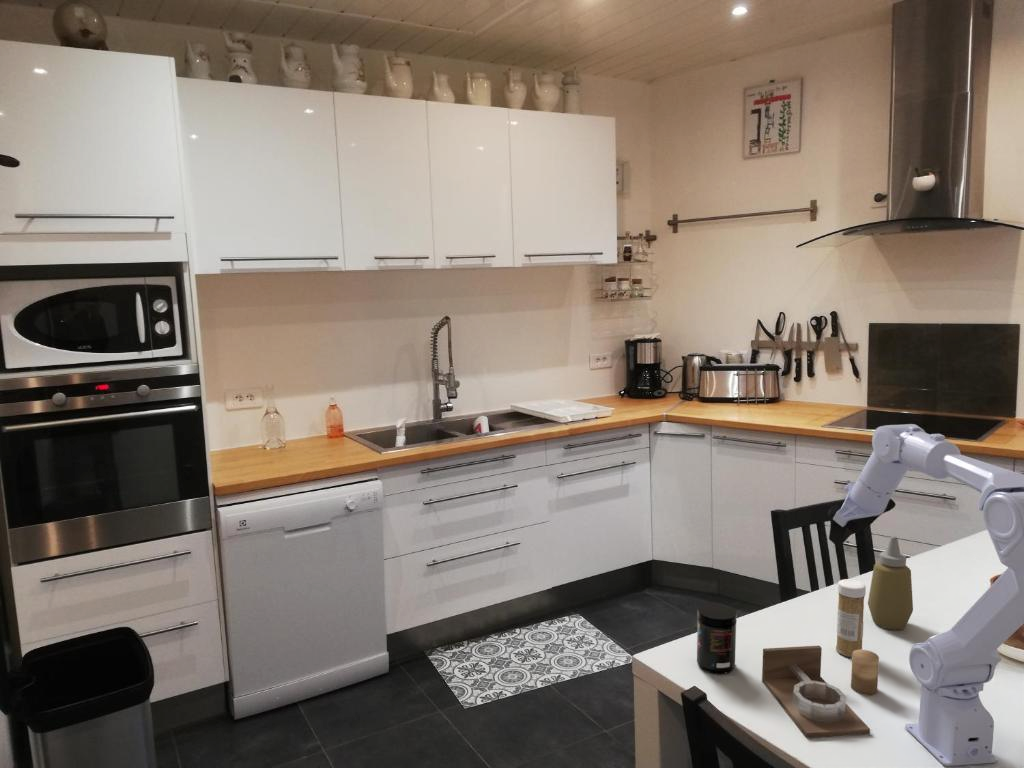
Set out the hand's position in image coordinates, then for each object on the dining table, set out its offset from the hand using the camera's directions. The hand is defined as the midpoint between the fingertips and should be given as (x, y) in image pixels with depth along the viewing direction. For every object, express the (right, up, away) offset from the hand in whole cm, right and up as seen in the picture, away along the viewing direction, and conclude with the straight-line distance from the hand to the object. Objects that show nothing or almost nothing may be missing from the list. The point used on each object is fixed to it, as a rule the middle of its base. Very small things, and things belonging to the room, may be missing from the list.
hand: (847, 533), depth 130 cm
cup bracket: (-11, -26, -12) cm, 30 cm away
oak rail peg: (-1, -25, -7) cm, 26 cm away
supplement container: (-23, -24, +1) cm, 34 cm away
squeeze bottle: (+16, -22, +16) cm, 31 cm away
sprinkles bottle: (+2, -23, +5) cm, 24 cm away
